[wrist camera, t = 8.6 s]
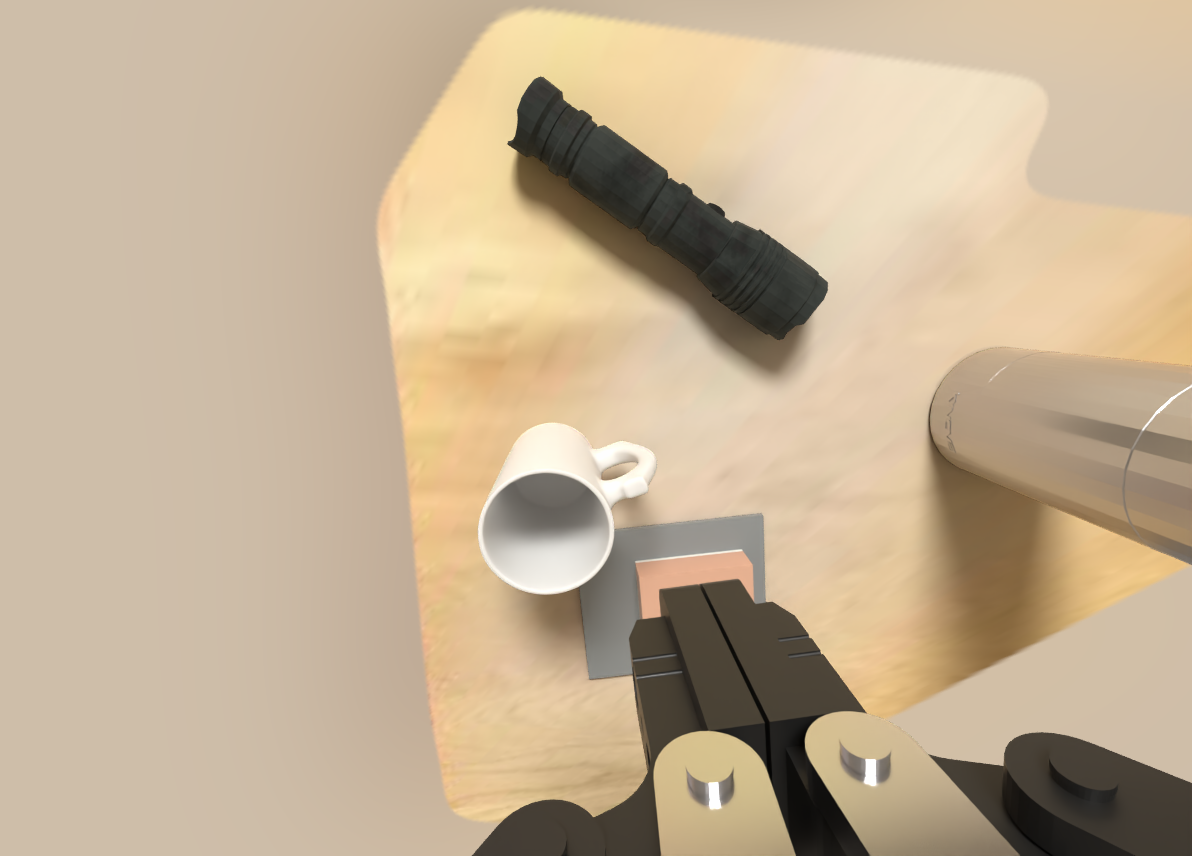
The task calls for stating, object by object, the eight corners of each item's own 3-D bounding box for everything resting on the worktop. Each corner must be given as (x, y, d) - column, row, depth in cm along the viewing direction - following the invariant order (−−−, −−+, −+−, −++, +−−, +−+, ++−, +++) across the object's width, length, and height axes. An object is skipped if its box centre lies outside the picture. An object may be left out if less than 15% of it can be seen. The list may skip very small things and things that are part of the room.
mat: (761, 513, 41) (763, 515, 40) (765, 655, 43) (767, 658, 43) (573, 533, 40) (573, 536, 40) (589, 675, 43) (589, 679, 42)
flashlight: (764, 340, 38) (792, 345, 33) (506, 160, 35) (496, 136, 30) (807, 277, 37) (843, 274, 32) (548, 87, 34) (545, 51, 29)
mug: (527, 523, 40) (510, 614, 28) (488, 440, 38) (454, 500, 27) (656, 471, 39) (693, 542, 28) (622, 386, 38) (647, 422, 26)
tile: (634, 561, 40) (741, 549, 41) (641, 644, 42) (744, 632, 42) (639, 577, 38) (752, 564, 38) (646, 665, 40) (755, 652, 40)
